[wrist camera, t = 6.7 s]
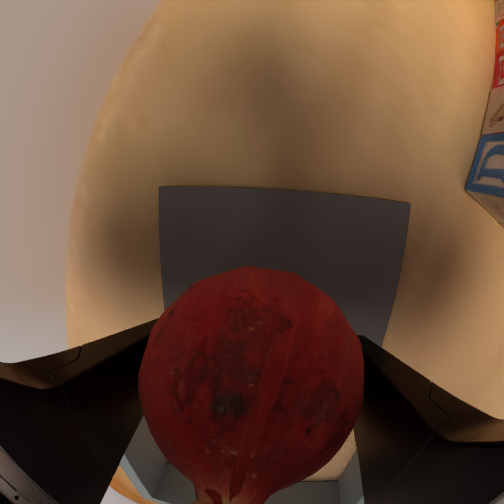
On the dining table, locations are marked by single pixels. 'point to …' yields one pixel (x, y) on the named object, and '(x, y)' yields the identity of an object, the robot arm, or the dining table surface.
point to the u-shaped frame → (182, 489)
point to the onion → (251, 383)
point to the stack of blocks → (492, 137)
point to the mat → (288, 243)
